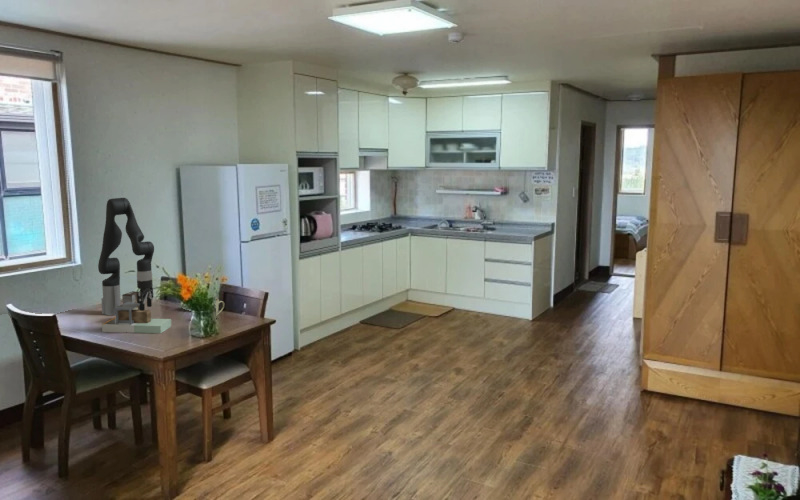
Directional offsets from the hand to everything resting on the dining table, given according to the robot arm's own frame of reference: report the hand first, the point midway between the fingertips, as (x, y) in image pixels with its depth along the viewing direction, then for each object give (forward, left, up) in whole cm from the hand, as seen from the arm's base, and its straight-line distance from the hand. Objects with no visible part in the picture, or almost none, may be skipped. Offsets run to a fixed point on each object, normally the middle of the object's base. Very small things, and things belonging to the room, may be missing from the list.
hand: (145, 308), depth 312 cm
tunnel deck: (-5, 0, -11) cm, 13 cm away
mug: (+28, +22, -12) cm, 38 cm away
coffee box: (-15, +16, -12) cm, 25 cm away
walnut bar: (-7, 0, -8) cm, 10 cm away
